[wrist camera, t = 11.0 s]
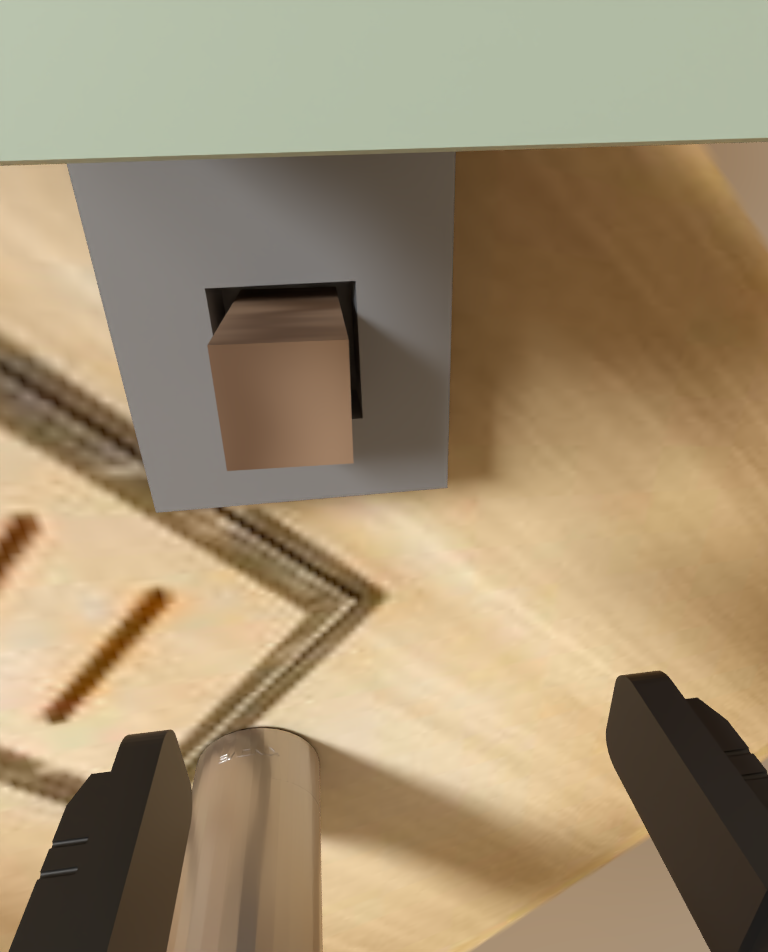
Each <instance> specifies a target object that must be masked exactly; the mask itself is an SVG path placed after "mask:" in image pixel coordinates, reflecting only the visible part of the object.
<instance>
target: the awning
mask: <svg viewBox="0 0 768 952" xmlns="http://www.w3.org/2000/svg"><path fill="white" fill-rule="evenodd" d="M744 142H768V0H0V166H5V165H37V164H69V163H102V162H134V161H166V160H198V159H230V158H262V157H294V156H327V155H359V154H391V153H423V152H455V151H487V150H519V149H552V148H584V147H616V146H648V145H680V144H712V143H744Z"/></svg>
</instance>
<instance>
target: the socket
mask: <svg viewBox="0 0 768 952" xmlns="http://www.w3.org/2000/svg"><path fill="white" fill-rule="evenodd" d="M455 159H456V151H455V152H423V153H391V154H359V155H327V156H294V157H262V158H230V159H198V160H166V161H134V162H102V163H69V164H67V167H68V171H69V175H70V178H71V182H72V186H73V190H74V194H75V198H76V202H77V206H78V210H79V214H80V217H81V221H82V225H83V229H84V233H85V237H86V241H87V245H88V249H89V253H90V256H91V260H92V264H93V268H94V272H95V276H96V280H97V284H98V288H99V292H100V295H101V299H102V303H103V307H104V311H105V315H106V319H107V323H108V327H109V331H110V334H111V338H112V342H113V346H114V350H115V354H116V358H117V362H118V366H119V370H120V373H121V377H122V381H123V385H124V389H125V393H126V397H127V401H128V405H129V409H130V412H131V416H132V420H133V424H134V428H135V432H136V436H137V440H138V444H139V448H140V451H141V455H142V459H143V463H144V467H145V471H146V475H147V479H148V483H149V487H150V490H151V494H152V498H153V502H154V506H155V510H156V512H168V511H180V510H192V509H203V508H215V507H227V506H239V505H251V504H262V503H274V502H286V501H298V500H309V499H321V498H333V497H345V496H357V495H368V494H380V493H392V492H404V491H416V490H427V489H439V488H447V479H448V439H449V399H450V359H451V319H452V279H453V239H454V199H455ZM308 287H336V291H337V295H338V299H339V303H340V307H341V311H342V315H343V319H344V323H345V327H346V331H347V335H348V339H349V361H350V387H351V412H352V437H353V462H354V463H350V464H334V465H318V466H302V467H286V468H269V469H253V470H237V471H227V468H226V462H225V455H224V449H223V442H222V436H221V430H220V423H219V417H218V411H217V404H216V398H215V392H214V385H213V379H212V372H211V366H210V360H209V353H208V347H207V345H208V343H209V342H210V340H211V338H212V337H213V335H214V333H215V332H216V330H217V328H218V327H219V325H220V323H221V322H222V320H223V318H224V317H225V315H226V313H227V312H228V310H229V309H230V307H231V305H232V304H233V302H234V300H235V299H236V297H237V295H238V294H239V292H240V290H244V289H276V288H308Z"/></svg>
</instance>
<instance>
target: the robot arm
mask: <svg viewBox="0 0 768 952" xmlns="http://www.w3.org/2000/svg"><path fill="white" fill-rule="evenodd" d="M606 742H607V748H608V752H609V755H610V758H611V761H612V764H613V766H614V768H615V770H616V772H617V774H618V776H619V778H620V779H621V781H622V783H623V785H624V787H625V789H626V791H627V793H628V795H629V797H630V799H631V800H632V802H633V804H634V806H635V808H636V810H637V812H638V814H639V816H640V818H641V819H642V821H643V823H644V825H645V827H646V829H647V831H648V833H649V835H650V837H651V839H652V840H653V842H654V844H655V846H656V848H657V850H658V852H659V854H660V856H661V858H662V859H663V861H664V863H665V865H666V867H667V869H668V871H669V873H670V875H671V877H672V878H673V880H674V882H675V884H676V886H677V888H678V890H679V892H680V893H681V896H682V897H683V899H684V901H685V903H686V905H687V907H688V909H689V911H690V913H691V915H692V917H693V919H694V920H695V922H696V924H697V926H698V928H699V930H700V932H701V934H702V936H703V938H704V939H705V941H706V943H707V945H708V947H709V949H710V951H711V952H768V775H767V770H766V769H765V768H764V767H763V765H762V764H761V763H760V761H759V760H758V759H757V758H756V756H755V755H754V754H751V753H750V752H749V747H748V746H747V745H746V744H745V742H744V741H743V740H742V739H741V737H740V736H739V735H738V733H737V732H736V731H735V730H734V728H733V727H732V726H731V725H730V723H729V722H728V721H727V720H726V719H725V718H724V717H722V716H721V715H720V714H718V713H717V712H716V711H714V710H713V709H712V708H710V707H709V706H708V705H706V704H705V703H704V702H703V701H701V700H700V699H699V698H691V699H685V698H684V697H683V695H682V694H681V693H680V691H679V690H678V689H677V687H676V686H675V685H674V683H673V682H672V680H671V679H670V678H669V677H668V676H667V675H666V674H665V673H663V672H661V671H652V672H644V673H636V674H628V675H621V676H619V677H618V678H617V679H616V682H615V687H614V692H613V697H612V702H611V708H610V713H609V718H608V723H607V728H606ZM52 842H53V845H52V848H51V849H49V851H48V854H47V856H46V859H45V861H44V864H43V866H42V869H41V871H40V872H41V876H40V879H39V880H37V881H36V884H35V886H34V889H33V892H32V894H31V897H30V899H29V902H28V904H27V907H26V909H25V912H24V914H23V917H22V919H21V922H20V924H19V927H18V929H17V932H16V934H15V937H14V939H13V942H12V944H11V947H10V949H9V952H323V943H322V885H321V828H320V766H319V758H318V755H317V753H316V751H315V750H314V748H313V747H312V746H311V745H310V744H309V743H308V742H307V741H305V740H304V739H302V738H301V737H299V736H297V735H295V734H292V733H290V732H287V731H283V730H279V729H270V728H252V729H246V730H240V731H236V732H233V733H231V734H228V735H225V736H223V737H221V738H219V739H218V740H216V741H214V742H213V743H212V744H211V745H209V746H208V747H207V748H206V749H205V750H204V752H203V753H202V754H201V756H200V758H199V760H198V763H197V767H196V772H195V777H194V782H193V788H192V789H191V784H190V780H189V777H188V774H187V770H186V767H185V764H184V761H183V758H182V754H181V751H180V748H179V745H178V741H177V738H176V735H175V733H174V731H173V730H164V731H156V732H148V733H140V734H132V735H127V736H126V737H125V738H124V739H123V740H122V742H121V744H120V747H119V750H118V752H117V755H116V758H115V761H114V764H113V767H112V770H111V772H104V773H96V774H91V775H90V777H89V778H88V779H87V780H86V782H85V783H84V784H83V785H82V787H81V788H80V789H79V791H78V792H77V793H76V794H75V796H74V797H73V798H72V800H71V801H70V802H69V803H68V805H67V806H66V808H65V811H64V813H63V816H62V818H61V821H60V824H59V826H58V829H57V831H56V834H55V836H54V839H53V841H52Z"/></svg>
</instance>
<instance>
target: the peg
mask: <svg viewBox="0 0 768 952" xmlns="http://www.w3.org/2000/svg"><path fill="white" fill-rule="evenodd" d="M207 347H208V353H209V360H210V366H211V372H212V379H213V385H214V392H215V398H216V404H217V411H218V417H219V423H220V430H221V436H222V442H223V449H224V455H225V462H226V468H227V471H237V470H253V469H269V468H286V467H302V466H318V465H334V464H350V463H354V462H353V437H352V412H351V387H350V361H349V339H348V335H347V331H346V327H345V323H344V319H343V315H342V311H341V307H340V303H339V299H338V295H337V291H336V287H308V288H276V289H244V290H240V292H239V294H238V295H237V297H236V299H235V300H234V302H233V304H232V305H231V307H230V309H229V310H228V312H227V313H226V315H225V317H224V318H223V320H222V322H221V323H220V325H219V327H218V328H217V330H216V332H215V333H214V335H213V337H212V338H211V340H210V342H209V343H208V345H207Z"/></svg>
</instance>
